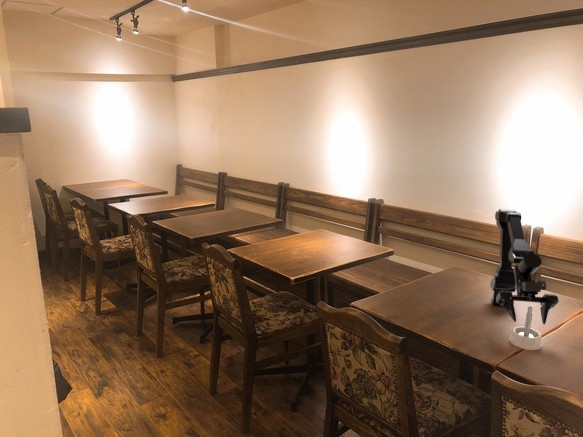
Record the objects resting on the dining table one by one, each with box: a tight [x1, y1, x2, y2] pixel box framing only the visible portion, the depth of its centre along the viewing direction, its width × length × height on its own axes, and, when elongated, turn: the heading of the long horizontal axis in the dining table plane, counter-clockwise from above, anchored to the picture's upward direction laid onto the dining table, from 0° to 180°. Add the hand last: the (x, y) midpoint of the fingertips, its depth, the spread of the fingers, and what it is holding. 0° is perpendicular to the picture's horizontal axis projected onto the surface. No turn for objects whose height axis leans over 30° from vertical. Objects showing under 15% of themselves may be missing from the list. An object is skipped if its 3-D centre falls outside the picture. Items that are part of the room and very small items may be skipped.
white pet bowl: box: [509, 325, 543, 351], centre depth 160 cm, size 10×10×4 cm
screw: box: [519, 305, 534, 338], centre depth 159 cm, size 13×5×5 cm
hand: (529, 322), depth 158 cm, fingers open, 9 cm apart
